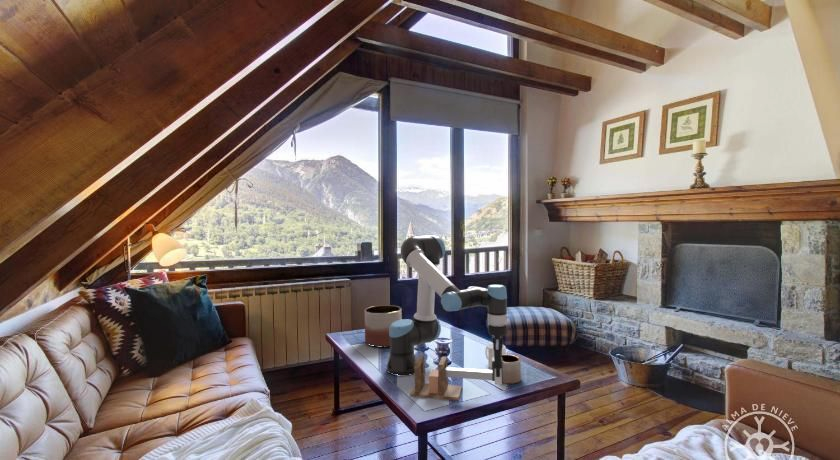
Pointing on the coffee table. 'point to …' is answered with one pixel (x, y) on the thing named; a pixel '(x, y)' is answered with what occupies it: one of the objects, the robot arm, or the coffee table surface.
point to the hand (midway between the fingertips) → (498, 381)
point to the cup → (492, 353)
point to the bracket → (444, 389)
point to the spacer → (434, 382)
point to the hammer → (473, 372)
